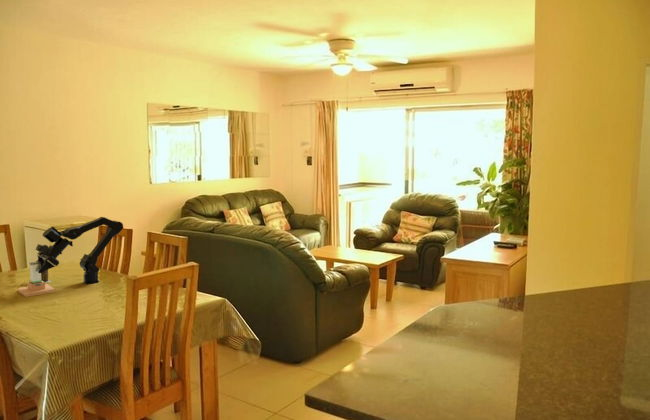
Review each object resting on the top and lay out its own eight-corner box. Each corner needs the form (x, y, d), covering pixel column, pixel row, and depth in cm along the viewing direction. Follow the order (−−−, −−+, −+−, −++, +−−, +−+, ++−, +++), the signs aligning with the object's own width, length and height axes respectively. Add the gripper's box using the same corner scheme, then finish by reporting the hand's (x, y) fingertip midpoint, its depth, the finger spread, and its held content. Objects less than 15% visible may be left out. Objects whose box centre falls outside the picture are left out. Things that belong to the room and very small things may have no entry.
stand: (47, 286, 273) (46, 277, 273) (55, 291, 263) (54, 282, 263) (18, 291, 263) (17, 281, 263) (25, 296, 253) (24, 287, 253)
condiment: (48, 279, 289) (47, 258, 287) (51, 282, 282) (50, 261, 281) (33, 280, 284) (32, 260, 283) (36, 284, 278) (35, 262, 276)
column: (40, 279, 266) (39, 261, 265) (42, 281, 263) (41, 262, 262) (29, 281, 263) (28, 262, 261) (32, 283, 259) (31, 263, 258)
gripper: (40, 236, 270) (18, 259, 264) (51, 241, 257) (28, 265, 251) (57, 248, 277) (36, 271, 271) (68, 254, 264) (46, 278, 257)
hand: (36, 271), depth 262 cm, fingers open, 9 cm apart
